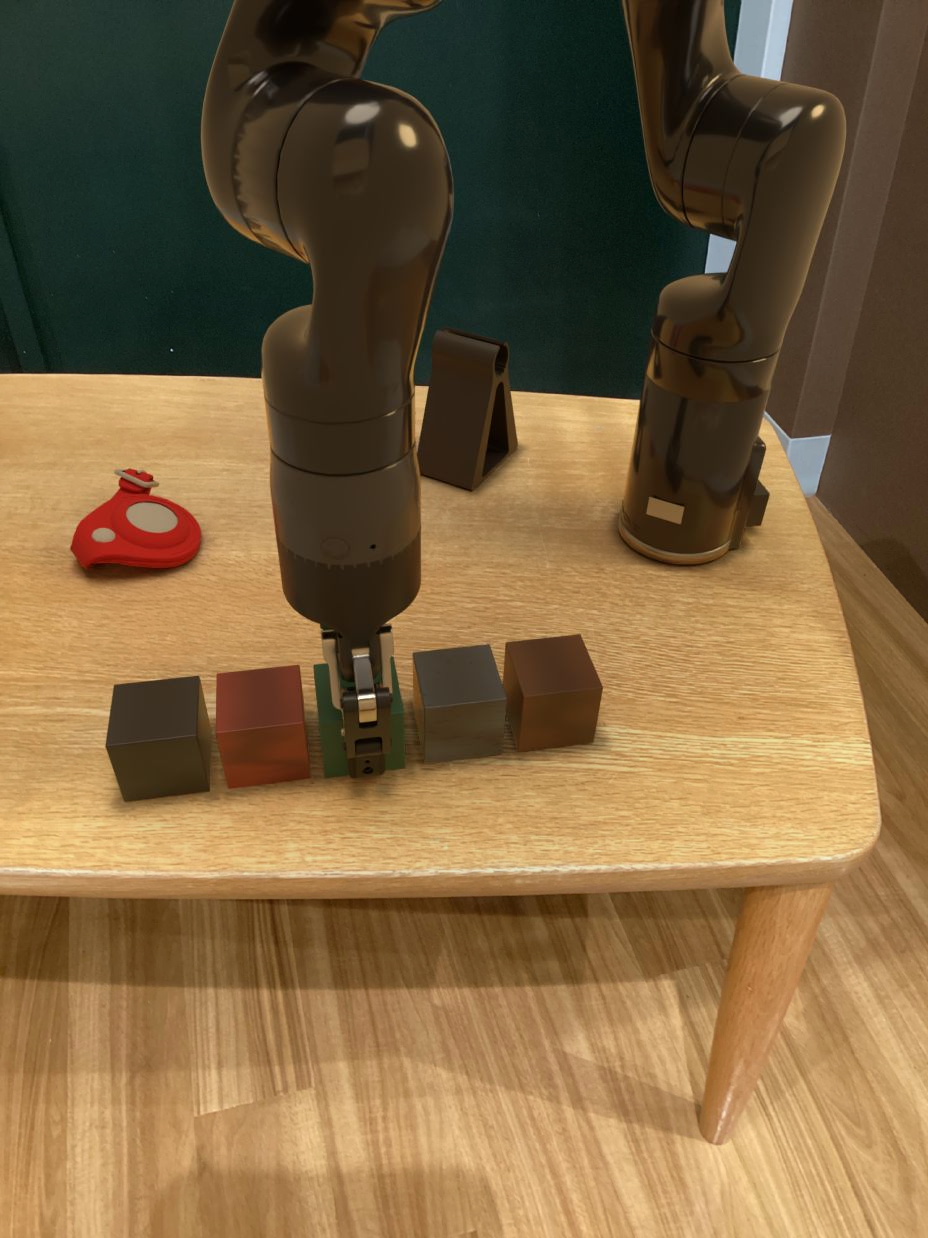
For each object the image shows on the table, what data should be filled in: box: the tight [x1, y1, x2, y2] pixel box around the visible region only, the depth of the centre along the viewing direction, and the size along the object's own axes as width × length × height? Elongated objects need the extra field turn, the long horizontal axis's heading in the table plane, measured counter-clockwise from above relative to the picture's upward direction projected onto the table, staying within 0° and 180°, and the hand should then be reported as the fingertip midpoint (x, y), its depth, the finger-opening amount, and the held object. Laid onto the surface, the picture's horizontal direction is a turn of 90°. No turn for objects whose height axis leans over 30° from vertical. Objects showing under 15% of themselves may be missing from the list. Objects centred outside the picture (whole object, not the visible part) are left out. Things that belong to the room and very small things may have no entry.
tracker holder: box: [69, 468, 202, 569], centre depth 73 cm, size 12×4×10 cm
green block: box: [312, 655, 406, 779], centre depth 57 cm, size 5×5×5 cm
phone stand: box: [416, 325, 519, 491], centre depth 81 cm, size 9×6×12 cm, turn 150°
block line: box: [104, 633, 604, 803], centre depth 57 cm, size 29×5×5 cm, turn 101°
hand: (362, 738), depth 58 cm, fingers closed on green block, 5 cm apart
